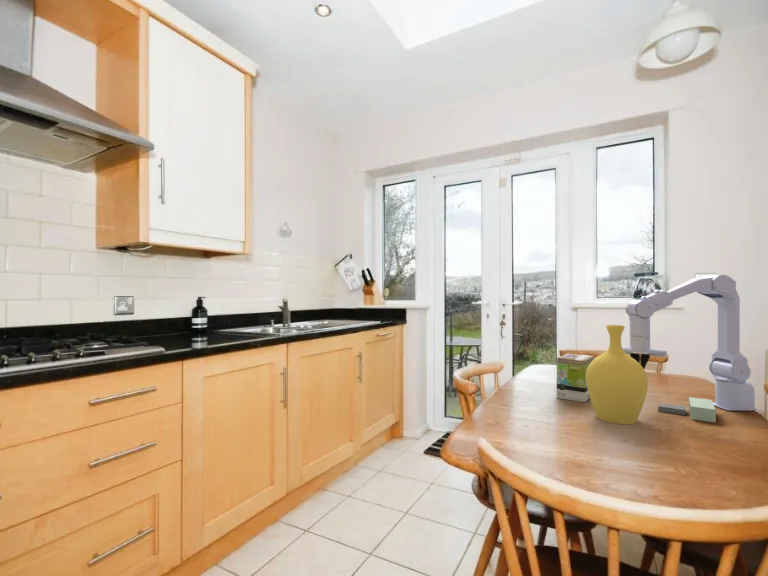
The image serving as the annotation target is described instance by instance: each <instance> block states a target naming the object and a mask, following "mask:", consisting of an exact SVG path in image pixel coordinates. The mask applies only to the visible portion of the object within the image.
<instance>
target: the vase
mask: <svg viewBox="0 0 768 576" xmlns="http://www.w3.org/2000/svg"><path fill="white" fill-rule="evenodd" d="M605 328H606V330H607V332H608V335H609V346H608V349H607V350H605V351H604V352H603V353H601V354H600V355H598V356H597V357H594V360H593V361H592V362H591V363H590V364H589V366H588V368H587V372H586V384H587V389H588V393H589V396H590V398H589V399H590V401H591V402H590V403H591V404H592V408H593V410H594V412H595V414H596V415H595V416H596V417H597V418H598V420H599V419H600V420H601V421H603V422H608V423H611V424H612V423H613V424H619V425H633V424H635V423H637V421H638V419H639V416H640V415H641V412H642V409H643V407H644V403H645V401H646V397H647V395H648V394H647V393H648V386H649V380H648V376H647V375H648V374H647V373H646V371H645V369H643V367H642V366H641V363H640V364H639V363H638V362H637V361H636V360H635V359H633V358H632V357H630V354H626V353H625V352H624V351H623V349H622V348H623V347H622V335H623V332H624V330H625V325H620V324H619V325H618V324H608V325H605Z"/></svg>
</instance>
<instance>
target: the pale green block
mask: <svg viewBox="0 0 768 576" xmlns="http://www.w3.org/2000/svg"><path fill="white" fill-rule="evenodd" d="M713 402H714V401H713V400H712V399H708V398H701V397H700V398H697V397H691V396H689V397H688V410H689V413H690V414H689V415H690V420H694V421H702V422H708V423H714V424H716V421H717V420H716V418H717V413H716V406H714V404H713Z"/></svg>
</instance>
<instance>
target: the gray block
mask: <svg viewBox="0 0 768 576" xmlns="http://www.w3.org/2000/svg"><path fill="white" fill-rule="evenodd" d="M686 407H687V406H684V405H679V404H678V405H676V404H669V403H664V402H658V406H657V410H658V412H660V411H663V412H662V413H667V412H668V414H675V415H681V416H686V415H687V409H686Z"/></svg>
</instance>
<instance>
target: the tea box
mask: <svg viewBox="0 0 768 576" xmlns="http://www.w3.org/2000/svg"><path fill="white" fill-rule="evenodd" d="M594 359H595V357H594V355H587V354H577V353H565V354H562V355H560V356H558V357H557V358H556V398H557V399H562V400H569V401H575V402H581V403H585V402H587V401H588V400H589V399H590V396H589V393H588V389H587V384H586V372H587V368H588V366H589V364H590V363H591V362H592V361H593V360H594Z"/></svg>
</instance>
